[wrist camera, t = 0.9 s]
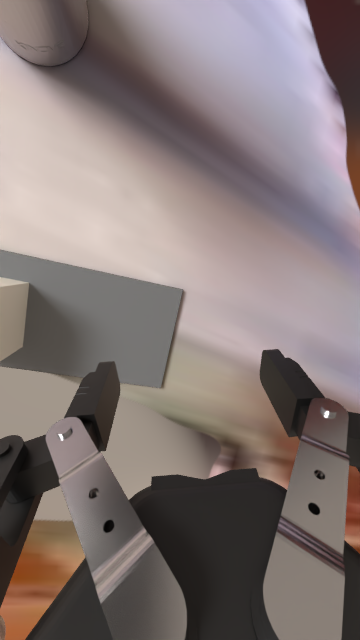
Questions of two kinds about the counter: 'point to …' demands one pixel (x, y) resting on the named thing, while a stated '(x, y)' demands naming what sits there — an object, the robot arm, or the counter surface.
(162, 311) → the rubber mat
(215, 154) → the counter surface
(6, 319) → the off-white cube
